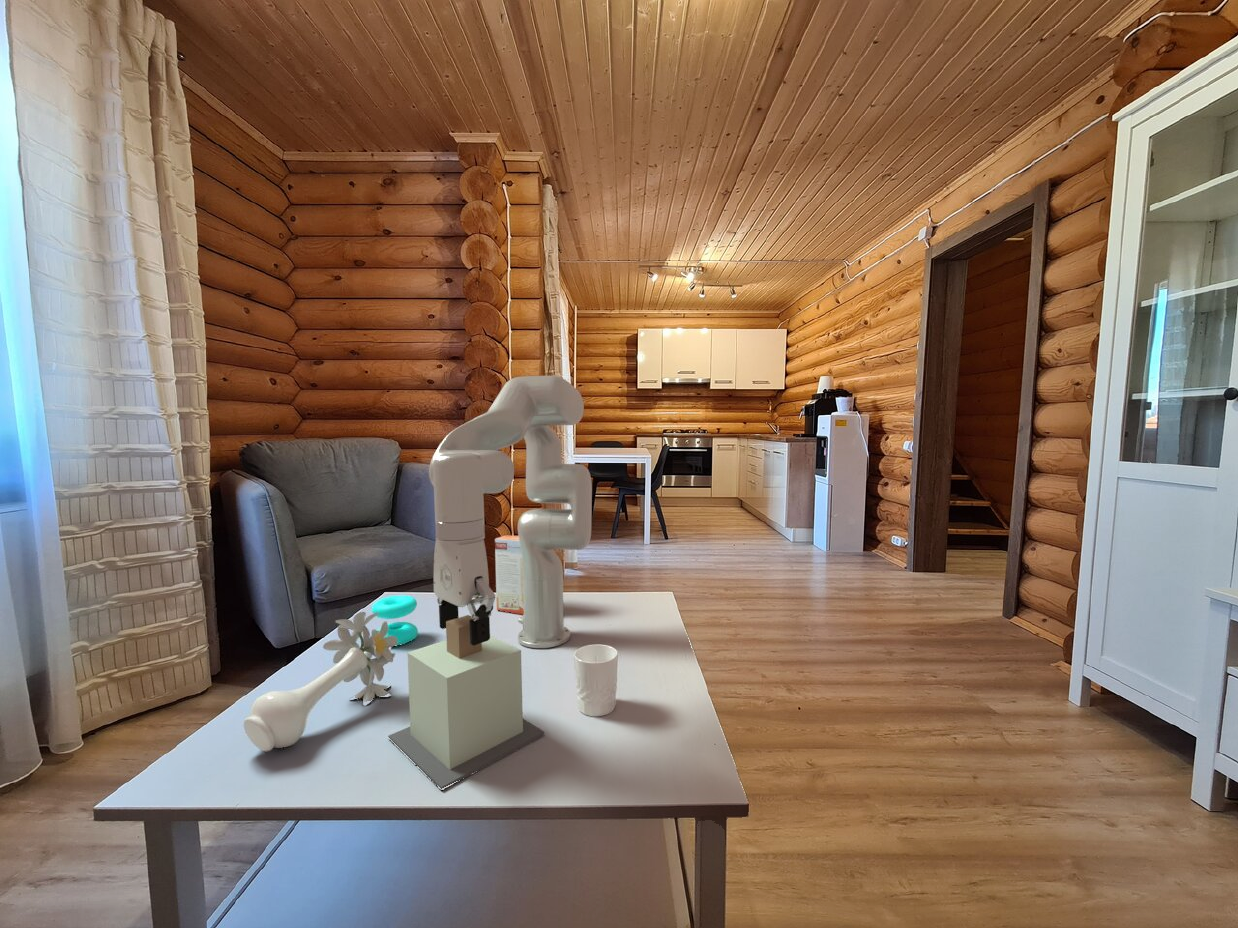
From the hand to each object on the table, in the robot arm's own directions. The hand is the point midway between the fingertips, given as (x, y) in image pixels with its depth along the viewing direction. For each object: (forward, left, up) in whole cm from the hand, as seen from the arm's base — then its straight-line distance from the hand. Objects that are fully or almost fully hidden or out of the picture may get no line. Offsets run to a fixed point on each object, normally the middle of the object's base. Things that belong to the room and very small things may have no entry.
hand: (464, 633), depth 83 cm
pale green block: (0, 0, -17) cm, 17 cm away
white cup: (+9, +21, -18) cm, 29 cm away
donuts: (-49, +9, -18) cm, 53 cm away
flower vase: (-23, -13, -18) cm, 32 cm away
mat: (0, 0, -17) cm, 17 cm away
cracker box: (-43, +42, -18) cm, 62 cm away
